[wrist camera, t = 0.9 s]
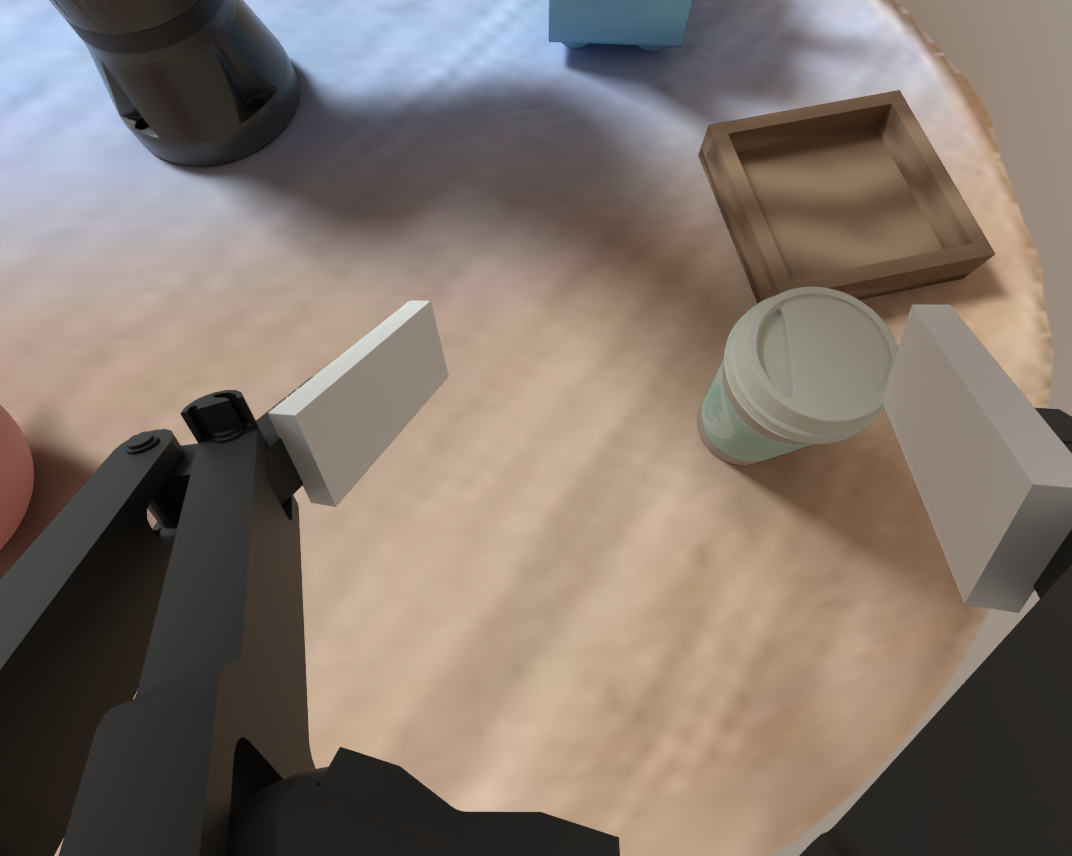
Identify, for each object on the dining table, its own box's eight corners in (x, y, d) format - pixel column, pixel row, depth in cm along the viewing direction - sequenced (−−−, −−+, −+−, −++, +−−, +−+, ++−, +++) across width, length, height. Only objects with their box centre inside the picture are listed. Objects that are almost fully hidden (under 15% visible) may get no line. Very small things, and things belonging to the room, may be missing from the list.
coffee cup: (713, 351, 39) (783, 249, 28) (818, 410, 37) (939, 329, 26) (655, 441, 37) (706, 372, 25) (764, 508, 35) (870, 467, 24)
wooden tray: (698, 155, 45) (708, 124, 42) (877, 121, 46) (899, 90, 43) (764, 318, 40) (781, 297, 37) (963, 278, 41) (995, 254, 38)
